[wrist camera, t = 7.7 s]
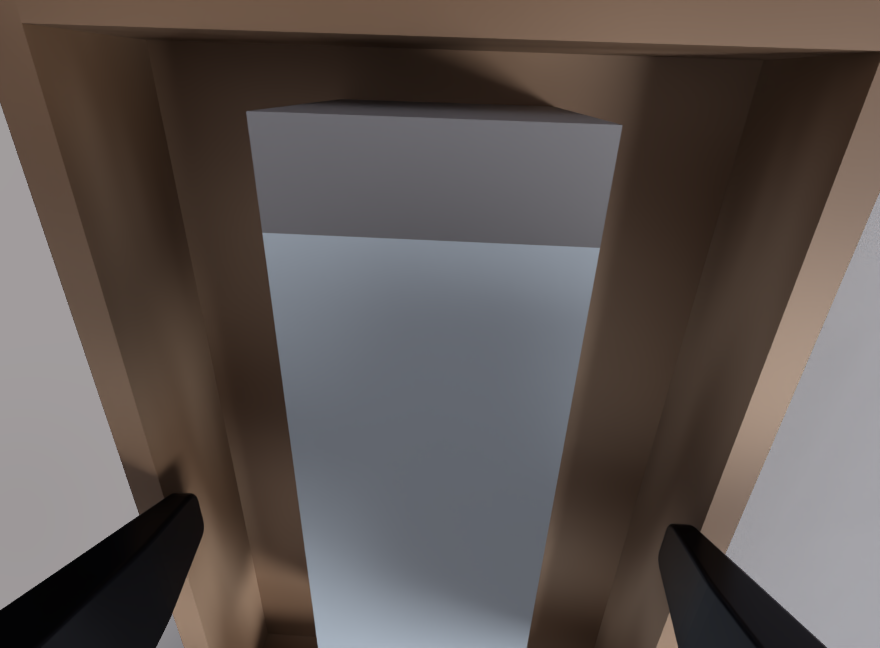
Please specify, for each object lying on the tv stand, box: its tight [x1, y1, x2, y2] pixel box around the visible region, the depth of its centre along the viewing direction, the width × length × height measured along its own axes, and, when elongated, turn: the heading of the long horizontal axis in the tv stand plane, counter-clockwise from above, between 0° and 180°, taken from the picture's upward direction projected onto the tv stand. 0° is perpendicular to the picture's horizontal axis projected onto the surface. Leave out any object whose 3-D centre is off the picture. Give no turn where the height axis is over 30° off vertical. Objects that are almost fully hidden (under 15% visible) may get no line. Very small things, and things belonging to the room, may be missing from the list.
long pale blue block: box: [246, 99, 623, 648], centre depth 9 cm, size 13×4×4 cm, turn 178°
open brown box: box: [0, 0, 880, 648], centre depth 10 cm, size 17×11×3 cm, turn 178°
